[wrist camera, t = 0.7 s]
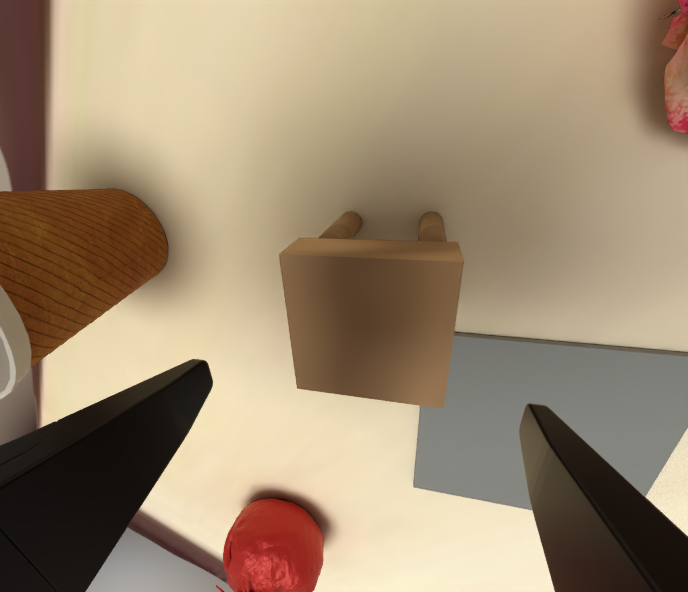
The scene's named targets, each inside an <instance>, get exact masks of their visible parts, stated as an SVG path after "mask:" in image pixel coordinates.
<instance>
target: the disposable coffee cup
mask: <svg viewBox="0 0 688 592" xmlns="http://www.w3.org/2000/svg"><path fill="white" fill-rule="evenodd" d="M167 254H168V247H167V241H166V238H165V235H164V231H163V229H162V227H161V225H160V223H159V222H158V220H157V218H156V217H155V215H154V214H153V213H152V212H151V211H150V210H149V208H148V207H147V206H146V205H145V204H144V203H143V202H141V201H140V200H139V199H138V198H136V197H134V196H133V195H131V194H129V193H127V192H125V191H122V190H118V189H88V190H43V191H11V192H8V191H7V192H6V191H4V192H0V399H2V398H3V397H5V396H6V395H7V394H9V393H10V392H12V391H13V390H14V389H15V388H16V386H17V384H18V382H19V381H20V380H21V379H22V378H23V377H25V376H26V374H27V372H28V370H29V368H30V367H32V366H33V365H34V364H36V363H37V362H39V361H40V360H41V359H43V358H44V357H45V356H47V355H48V354H50V353H51V352H53V351H54V350H55V349H56V348H58V347H59V346H60V345H62V344H64V343H65V342H66V341H67V340H68V339H69V338H71V337H73V336H74V335H75V334H77V333H78V332H79V331H80V330H82V329H83V328H85V327H86V326H87V325H89V324H90V323H92V322H93V321H94V320H96V319H97V318H98V317H100V316H101V315H102V314H104V313H105V312H106V311H108V310H109V309H111V308H112V307H113V306H114V305H116V304H118V303H119V302H120V301H121V300H122V299H124V298H125V297H127V296H128V295H129V294H131V293H132V292H133V291H135V290H136V289H138V288H139V287H140V286H141V285H143V284H144V283H146V282H147V281H148V280H150V279H151V278H153V277H154V276H155V275H157V274H158V273H159V272H160V271H161V270H162V269H163V267H164V266H165V264H166V261H167Z"/></svg>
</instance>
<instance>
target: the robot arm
mask: <svg viewBox="0 0 688 592" xmlns="http://www.w3.org/2000/svg"><path fill="white" fill-rule="evenodd" d="M212 386H213V379H212V376H211V372H210V369H209V365H208V363H207V362H206V361H205V360H199V359H192V360H189V361H187V362H185V363H183V364H181V365H178V366H176V367H174V368H172V369H170V370H167V371H165V372H163V373H161V374H159V375H156V376H154V377H152V378H150V379H148V380H145V381H143V382H141V383H139V384H137V385H134V386H132V387H130V388H128V389H126V390H123V391H121V392H119V393H117V394H115V395H112V396H110V397H108V398H106V399H104V400H101V401H99V402H97V403H95V404H93V405H90V406H88V407H86V408H84V409H82V410H79V411H77V412H75V413H73V414H71V415H68V416H66V417H64V418H62V419H60V420H58V421H57V422H53V423H51V424H48V425H46V426H44V427H42V428H40V429H37V430H35V431H33V432H31V433H28V434H26V435H24V436H21V437H19V438H17V439H15V440H12V441H10V442H8V443H5V444H3V445H0V592H85V591H86V590H87V589H88V587H89V585H90V584H91V582H92V581H93V579H94V578H95V576H96V575H97V573H98V571H99V570H100V569H101V567H102V565H103V564H104V562H105V561H106V559H107V558H108V556H109V554H110V553H111V552H112V550H113V548H114V547H115V545H116V544H117V542H118V541H119V539H120V538H121V536H122V534H123V533H124V532H125V530H126V528H127V527H128V525H129V524H130V522H131V521H132V519H133V518H134V516H135V515H136V513H137V511H138V510H139V508H140V507H141V505H142V504H143V502H144V501H145V499H146V498H147V496H148V495H149V493H150V491H151V490H152V488H153V487H154V485H155V484H156V482H157V481H158V479H159V478H160V476H161V474H162V473H163V471H164V470H165V468H166V467H167V465H168V464H169V462H170V461H171V459H172V458H173V456H174V454H175V453H176V451H177V450H178V448H179V447H180V445H181V444H182V442H183V441H184V439H185V437H186V436H187V434H188V432H189V431H190V429H191V427H192V425H193V423H194V421H195V419H196V418H197V416H198V414H199V412H200V410H201V408H202V406H203V404H204V402H205V400H206V398H207V397H208V395H209V393H210V391H211V389H212ZM519 436H520V443H521V449H522V455H523V462H524V468H525V474H526V480H527V487H528V492H529V498H530V502H531V506H532V510H533V514H534V517H535V521H536V525H537V528H538V532H539V535H540V539H541V543H542V546H543V550H544V554H545V557H546V561H547V564H548V568H549V572H550V575H551V579H552V583H553V586H554V590H555V592H688V536H687V535H686V534H685V533H684V532H682V531H681V530H680V529H679V528H678V527H677V526H676V525H675V524H674V523H673V522H672V521H671V520H669V519H668V518H667V517H666V516H665V515H664V514H663V513H662V512H661V511H660V510H659V509H658V508H657V507H655V506H654V505H653V504H652V503H651V502H650V501H649V500H648V499H647V498H646V497H645V496H644V495H643V494H641V493H640V492H639V491H638V490H637V489H636V488H635V487H634V486H633V485H632V484H631V483H630V482H629V481H627V480H626V479H625V478H624V477H623V476H622V475H621V474H620V473H619V472H618V471H617V470H616V469H614V468H613V467H612V466H611V465H610V464H609V463H608V462H607V461H606V460H605V459H604V458H603V457H602V456H600V455H599V454H598V453H597V452H596V451H595V450H594V449H593V448H592V447H591V446H590V445H589V444H588V443H586V442H585V441H584V440H583V439H582V438H581V437H580V436H579V435H578V434H577V433H576V432H575V431H574V430H572V429H571V428H570V427H569V426H568V425H567V424H566V423H565V422H564V421H563V420H562V419H561V418H559V417H558V416H557V415H556V414H555V413H554V412H553V411H552V410H551V409H550V408H549V407H547V406H545V405H541V404H533V403H529V404H527V405H526V407H525V410H524V413H523V417H522V420H521V423H520V428H519Z"/></svg>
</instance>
